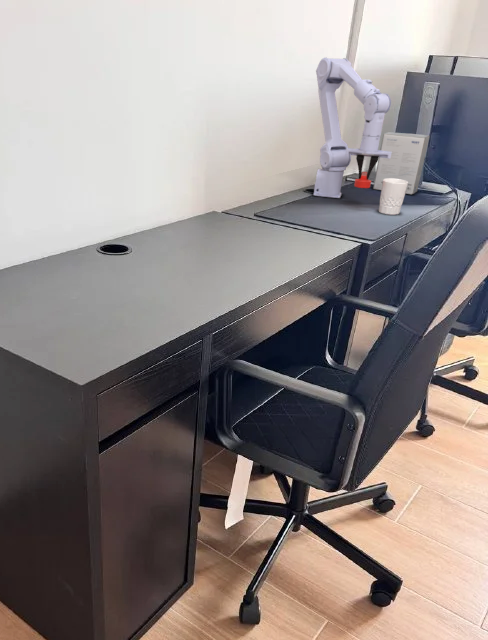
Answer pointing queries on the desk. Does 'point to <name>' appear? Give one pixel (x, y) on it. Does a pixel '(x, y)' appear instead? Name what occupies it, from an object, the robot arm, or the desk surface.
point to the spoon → (362, 181)
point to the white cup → (392, 196)
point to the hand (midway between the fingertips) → (363, 179)
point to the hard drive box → (402, 159)
